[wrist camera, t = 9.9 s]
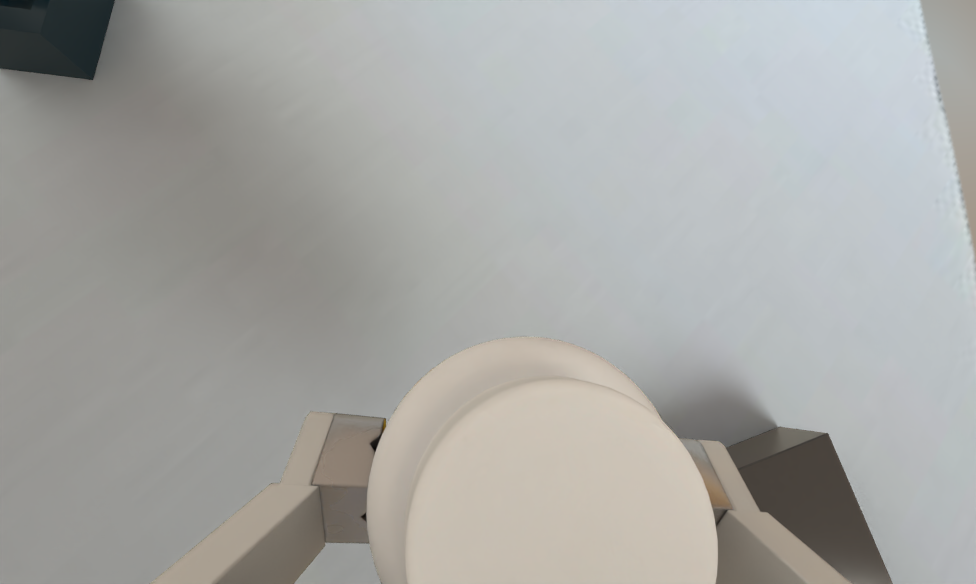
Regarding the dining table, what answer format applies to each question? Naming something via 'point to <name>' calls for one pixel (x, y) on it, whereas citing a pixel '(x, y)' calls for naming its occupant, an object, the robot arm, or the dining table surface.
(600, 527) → the supplement bottle
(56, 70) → the watch
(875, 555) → the hob
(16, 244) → the dining table surface
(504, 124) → the dining table surface
